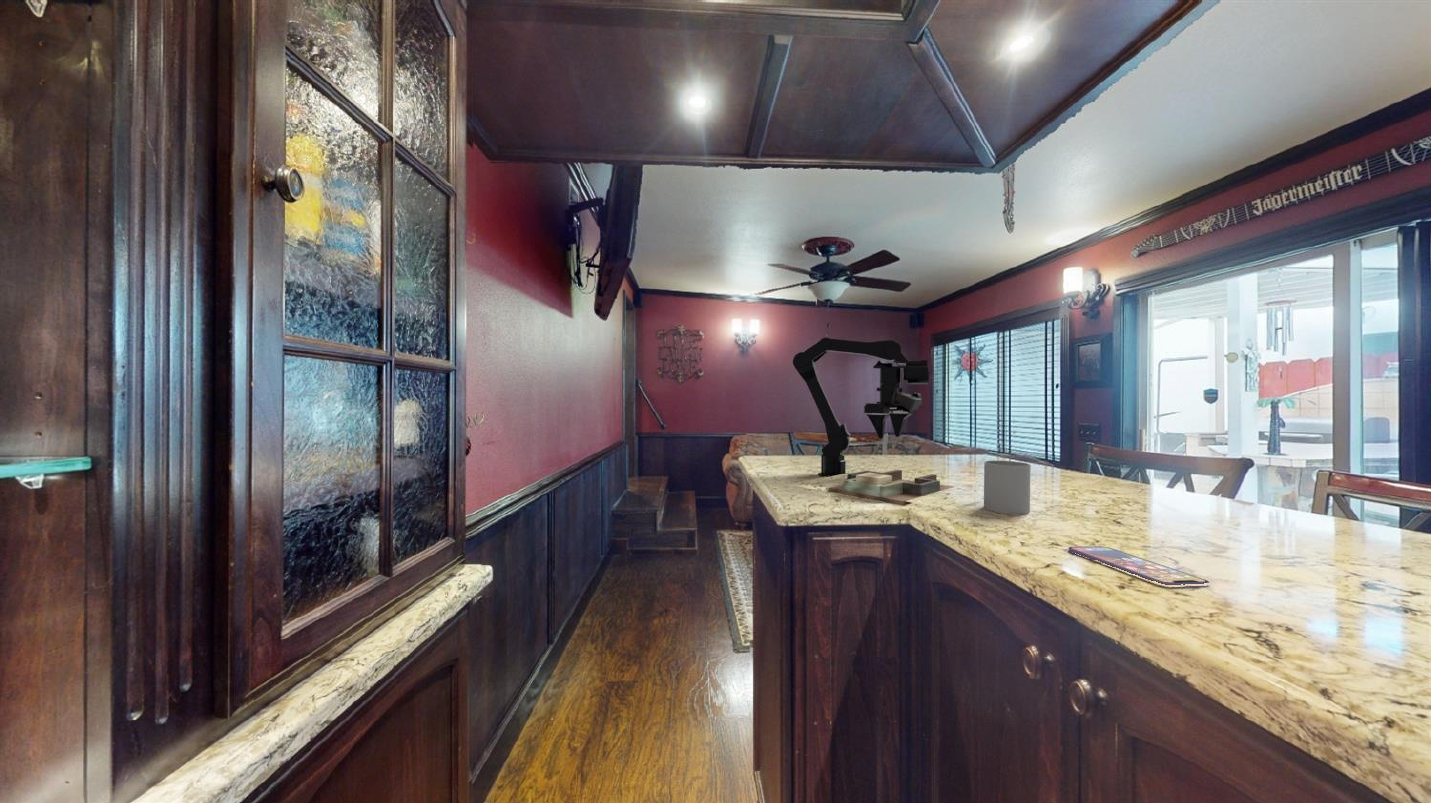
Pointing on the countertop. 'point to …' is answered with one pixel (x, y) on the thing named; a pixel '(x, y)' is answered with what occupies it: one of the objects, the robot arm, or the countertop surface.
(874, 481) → the maple block
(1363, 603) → the countertop surface
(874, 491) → the trap lane
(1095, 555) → the smartphone
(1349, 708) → the countertop surface
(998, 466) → the cup
